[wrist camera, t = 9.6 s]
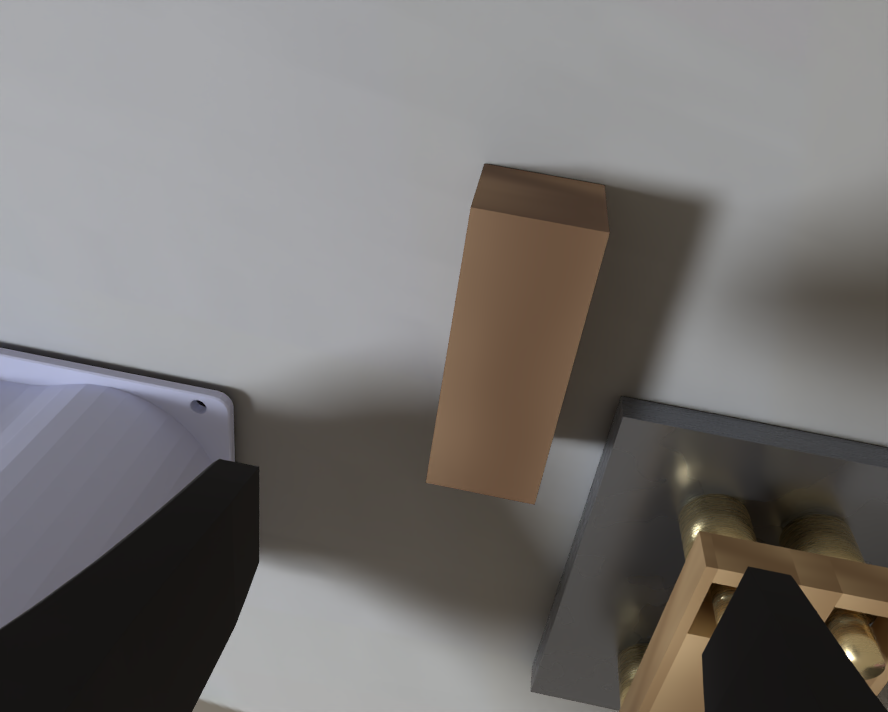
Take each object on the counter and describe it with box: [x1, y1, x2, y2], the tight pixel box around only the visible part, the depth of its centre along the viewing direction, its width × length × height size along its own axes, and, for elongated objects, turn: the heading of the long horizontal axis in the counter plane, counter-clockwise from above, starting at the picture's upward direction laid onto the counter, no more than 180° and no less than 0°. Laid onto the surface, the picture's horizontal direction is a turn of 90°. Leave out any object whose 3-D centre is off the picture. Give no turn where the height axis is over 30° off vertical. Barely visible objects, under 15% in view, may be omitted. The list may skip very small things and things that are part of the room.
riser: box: [426, 164, 610, 505], centre depth 19 cm, size 3×8×3 cm, turn 172°
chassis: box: [531, 396, 888, 710], centre depth 23 cm, size 10×13×5 cm
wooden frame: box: [619, 531, 888, 712], centre depth 21 cm, size 6×10×1 cm, turn 173°
